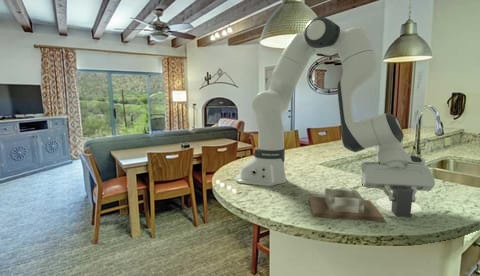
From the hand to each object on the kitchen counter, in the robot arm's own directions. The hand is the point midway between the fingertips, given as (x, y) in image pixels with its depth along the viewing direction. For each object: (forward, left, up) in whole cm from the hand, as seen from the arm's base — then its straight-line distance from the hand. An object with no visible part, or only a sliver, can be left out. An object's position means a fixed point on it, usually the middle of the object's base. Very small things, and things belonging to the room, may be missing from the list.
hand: (402, 201), depth 84 cm
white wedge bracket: (-1, +31, -5) cm, 31 cm away
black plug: (0, +1, -4) cm, 4 cm away
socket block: (-17, +1, -4) cm, 18 cm away
